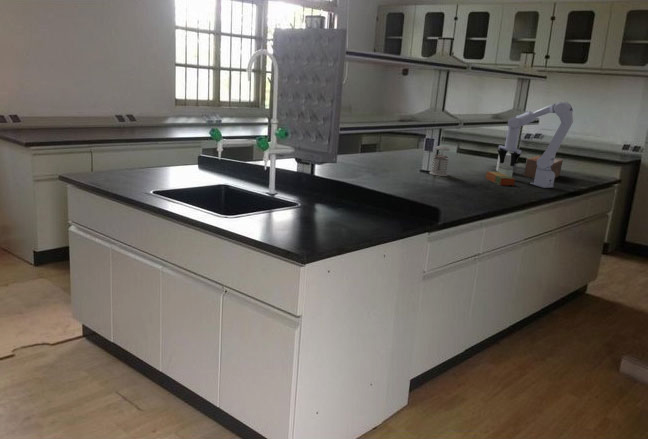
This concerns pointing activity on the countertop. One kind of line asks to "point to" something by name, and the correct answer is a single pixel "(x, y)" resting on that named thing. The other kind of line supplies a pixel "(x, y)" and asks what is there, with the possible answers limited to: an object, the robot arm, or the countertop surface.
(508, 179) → the carton
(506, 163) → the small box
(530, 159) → the tissue box cover
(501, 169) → the box
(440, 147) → the french press
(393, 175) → the countertop surface
